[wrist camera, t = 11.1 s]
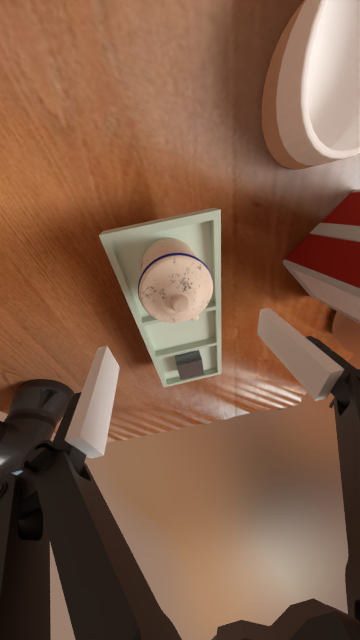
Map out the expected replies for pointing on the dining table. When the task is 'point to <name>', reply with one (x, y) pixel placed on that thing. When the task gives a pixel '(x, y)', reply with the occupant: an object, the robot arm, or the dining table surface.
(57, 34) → the dining table surface
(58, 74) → the dining table surface
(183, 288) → the teacup with lid
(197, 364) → the block
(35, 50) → the dining table surface
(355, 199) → the red striped block
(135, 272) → the divided tray
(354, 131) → the bowl
